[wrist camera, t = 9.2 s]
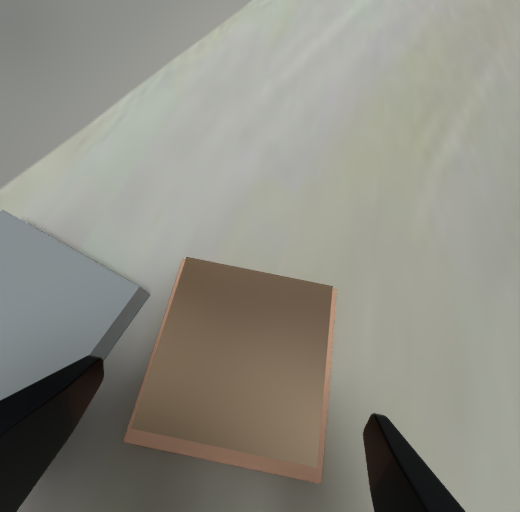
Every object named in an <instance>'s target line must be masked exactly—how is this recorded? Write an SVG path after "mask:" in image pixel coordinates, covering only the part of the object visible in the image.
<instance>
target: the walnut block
mask: <svg viewBox="0 0 520 512" xmlns="http://www.w3.org/2000/svg"><path fill="white" fill-rule="evenodd" d="M332 289H333V286H329V285H324V284H319V283H314V282H309V281H304V280H299V279H294V278H289V277H284V276H279V275H274V274H269V273H264V272H259V271H254V270H249V269H244V268H239V267H234V266H229V265H224V264H219V263H214V262H209V261H204V260H199V259H194V258H189V257H186V260H185V263H184V266H183V269H182V272H181V275H180V278H179V281H178V285H177V288H176V291H175V294H174V297H173V300H172V303H171V306H170V309H169V312H168V316H167V319H166V322H165V325H164V328H163V331H162V334H161V337H160V340H159V343H158V347H157V350H156V353H155V356H154V359H153V362H152V365H151V368H150V371H149V374H148V378H147V381H146V384H145V387H144V390H143V393H142V396H141V399H140V402H139V405H138V409H137V412H136V415H135V418H134V421H133V424H132V427H131V429H136V430H141V431H145V432H150V433H155V434H159V435H164V436H169V437H174V438H178V439H183V440H188V441H192V442H197V443H202V444H207V445H211V446H216V447H221V448H225V449H230V450H235V451H240V452H244V453H249V454H254V455H258V456H263V457H268V458H273V459H277V460H282V461H287V462H291V463H296V464H301V465H306V466H310V467H315V468H317V461H318V450H319V438H320V427H321V415H322V404H323V392H324V381H325V369H326V358H327V346H328V335H329V324H330V312H331V301H332Z"/></svg>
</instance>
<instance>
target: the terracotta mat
mask: <svg viewBox="0 0 520 512" xmlns="http://www.w3.org/2000/svg"><path fill="white" fill-rule="evenodd" d="M185 260H186V259H183V260H182V263H181V266H180V269H179V272H178V275H177V278H176V281H175V284H174V287H173V290H172V293H171V296H170V299H169V302H168V306H167V309H166V312H165V315H164V318H163V321H162V324H161V327H160V330H159V333H158V336H157V339H156V342H155V345H154V348H153V351H152V355H151V358H150V361H149V364H148V367H147V370H146V373H145V376H144V379H143V382H142V385H141V388H140V391H139V394H138V397H137V400H136V404H135V407H134V410H133V413H132V416H131V419H130V422H129V425H128V428H127V431H126V434H125V437H124V440H123V442H125V443H130V444H135V445H139V446H144V447H149V448H154V449H158V450H163V451H168V452H172V453H177V454H182V455H187V456H191V457H196V458H201V459H205V460H210V461H215V462H220V463H224V464H229V465H234V466H239V467H243V468H248V469H253V470H257V471H262V472H267V473H272V474H276V475H281V476H286V477H290V478H295V479H300V480H305V481H309V482H314V483H319V484H321V482H322V470H323V457H324V444H325V432H326V419H327V407H328V394H329V381H330V369H331V356H332V344H333V331H334V319H335V306H336V293H337V289H332V301H331V312H330V324H329V335H328V346H327V358H326V369H325V381H324V392H323V404H322V415H321V427H320V438H319V450H318V461H317V468H315V467H310V466H306V465H301V464H296V463H291V462H287V461H282V460H277V459H273V458H268V457H263V456H258V455H254V454H249V453H244V452H240V451H235V450H230V449H225V448H221V447H216V446H211V445H207V444H202V443H197V442H192V441H188V440H183V439H178V438H174V437H169V436H164V435H159V434H155V433H150V432H145V431H141V430H136V429H131V427H132V424H133V421H134V418H135V415H136V412H137V409H138V405H139V402H140V399H141V396H142V393H143V390H144V387H145V384H146V381H147V378H148V374H149V371H150V368H151V365H152V362H153V359H154V356H155V353H156V350H157V347H158V343H159V340H160V337H161V334H162V331H163V328H164V325H165V322H166V319H167V316H168V312H169V309H170V306H171V303H172V300H173V297H174V294H175V291H176V288H177V285H178V281H179V278H180V275H181V272H182V269H183V266H184V263H185Z"/></svg>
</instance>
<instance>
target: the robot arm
mask: <svg viewBox="0 0 520 512" xmlns="http://www.w3.org/2000/svg"><path fill="white" fill-rule="evenodd" d="M103 377H104V369H103V359H102V357H99V356H94V355H88V356H85V357H83V358H81V359H80V360H78V361H76V362H74V363H72V364H70V365H68V366H66V367H64V368H62V369H60V370H58V371H56V372H54V373H52V374H50V375H48V376H47V377H45V378H43V379H41V380H39V381H37V382H35V383H33V384H31V385H29V386H27V387H25V388H23V389H21V390H19V391H17V392H15V393H14V394H12V395H10V396H8V397H6V398H4V399H2V400H0V512H16V511H17V510H18V509H19V507H20V506H21V504H22V503H23V501H24V500H25V499H26V497H27V496H28V494H29V493H30V492H31V490H32V489H33V487H34V486H35V485H36V483H37V482H38V480H39V479H40V477H41V476H42V475H43V473H44V472H45V470H46V469H47V468H48V466H49V465H50V463H51V462H52V461H53V459H54V458H55V456H56V455H57V453H58V452H59V451H60V449H61V448H62V446H63V445H64V444H65V442H66V441H67V439H68V438H69V436H70V435H71V433H72V432H73V430H74V429H75V427H76V426H77V424H78V422H79V421H80V419H81V417H82V415H83V414H84V412H85V410H86V409H87V407H88V405H89V403H90V402H91V400H92V398H93V397H94V395H95V393H96V391H97V390H98V388H99V386H100V385H101V383H102V381H103ZM363 439H364V446H365V454H366V462H367V470H368V477H369V485H370V491H371V497H372V502H373V507H374V511H375V512H465V510H464V509H463V508H462V507H461V506H460V504H459V503H458V502H457V501H456V500H455V498H454V497H453V496H452V495H451V494H450V492H449V491H448V490H447V489H446V488H445V486H444V485H443V484H442V483H441V482H440V480H439V479H438V478H437V477H436V475H435V474H434V473H433V472H432V471H431V469H430V468H429V467H428V466H427V465H426V463H425V462H424V461H423V460H422V459H421V457H420V456H419V455H418V454H417V453H416V451H415V450H414V449H413V448H412V447H411V445H410V444H409V443H408V442H407V441H406V439H405V438H404V437H403V436H402V435H401V433H400V432H399V431H398V430H397V428H396V427H395V426H394V425H393V424H392V422H391V421H390V420H389V419H388V418H387V417H386V416H384V415H380V414H376V413H373V414H371V416H370V418H369V420H368V422H367V424H366V426H365V428H364V432H363Z"/></svg>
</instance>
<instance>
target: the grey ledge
mask: <svg viewBox="0 0 520 512" xmlns="http://www.w3.org/2000/svg"><path fill="white" fill-rule="evenodd" d="M149 296H150V294H149V293H147V292H146V291H145V290H143V289H142V288H140V287H139V286H137V285H135V284H134V283H132V282H130V281H128V280H127V279H125V278H123V277H121V276H119V275H118V274H116V273H114V272H112V271H111V270H109V269H107V268H105V267H104V266H102V265H100V264H98V263H96V262H95V261H93V260H91V259H89V258H88V257H86V256H84V255H82V254H80V253H79V252H77V251H75V250H73V249H72V248H70V247H68V246H66V245H65V244H63V243H61V242H59V241H57V240H56V239H54V238H52V237H50V236H49V235H47V234H45V233H43V232H42V231H40V230H38V229H36V228H34V227H33V226H31V225H29V224H27V223H26V222H24V221H22V220H20V219H18V218H17V217H15V216H13V215H11V214H10V213H8V212H6V211H4V210H2V211H1V212H0V400H2V399H4V398H6V397H8V396H10V395H12V394H14V393H15V392H17V391H19V390H21V389H23V388H25V387H27V386H29V385H31V384H33V383H35V382H37V381H39V380H41V379H43V378H45V377H47V376H48V375H50V374H52V373H54V372H56V371H58V370H60V369H62V368H64V367H66V366H68V365H70V364H72V363H74V362H76V361H78V360H80V359H81V358H83V357H85V356H88V355H94V356H99V357H102V359H103V360H104V359H105V357H106V356H107V355H108V353H109V352H110V350H111V349H112V348H113V346H114V345H115V343H116V342H117V341H118V339H119V338H120V336H121V335H122V334H123V332H124V331H125V329H126V328H127V327H128V325H129V324H130V322H131V321H132V319H133V318H134V317H135V315H136V314H137V312H138V311H139V310H140V308H141V307H142V305H143V304H144V303H145V301H146V300H147V298H148V297H149Z"/></svg>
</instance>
